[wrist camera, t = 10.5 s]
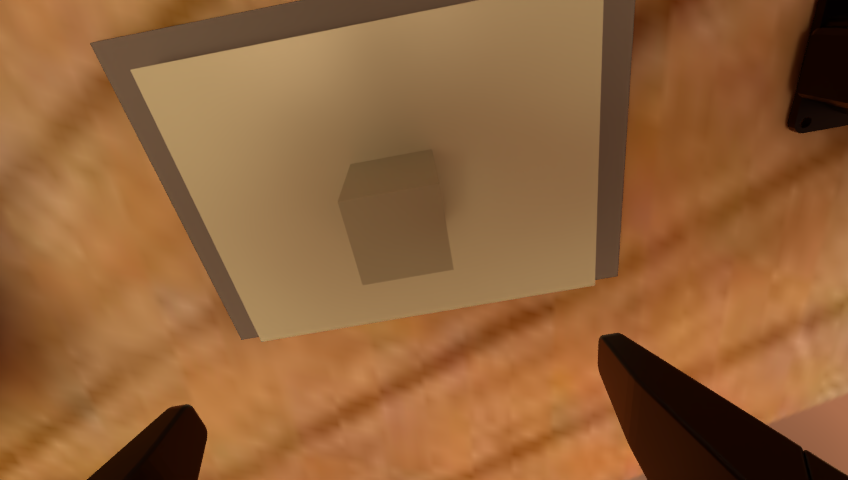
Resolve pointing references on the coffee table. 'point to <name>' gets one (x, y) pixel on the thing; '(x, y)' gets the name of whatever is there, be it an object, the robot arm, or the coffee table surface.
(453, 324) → the coffee table surface
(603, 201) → the mat
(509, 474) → the coffee table surface
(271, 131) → the lid
